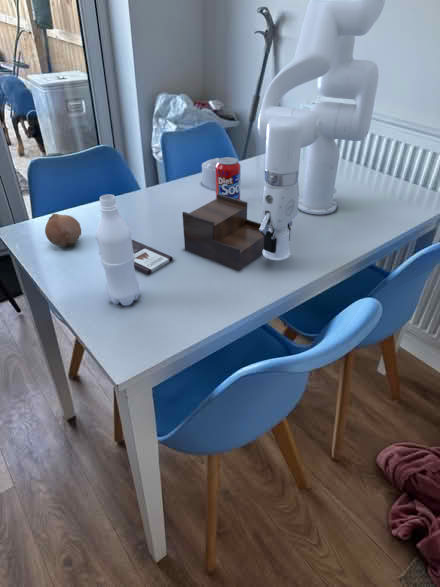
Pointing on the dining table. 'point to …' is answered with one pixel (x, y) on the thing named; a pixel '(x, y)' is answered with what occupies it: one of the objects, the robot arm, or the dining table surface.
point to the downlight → (279, 244)
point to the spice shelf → (223, 233)
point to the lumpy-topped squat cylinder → (209, 173)
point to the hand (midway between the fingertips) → (276, 244)
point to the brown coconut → (62, 230)
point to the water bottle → (116, 253)
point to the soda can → (228, 177)
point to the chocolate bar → (148, 258)
